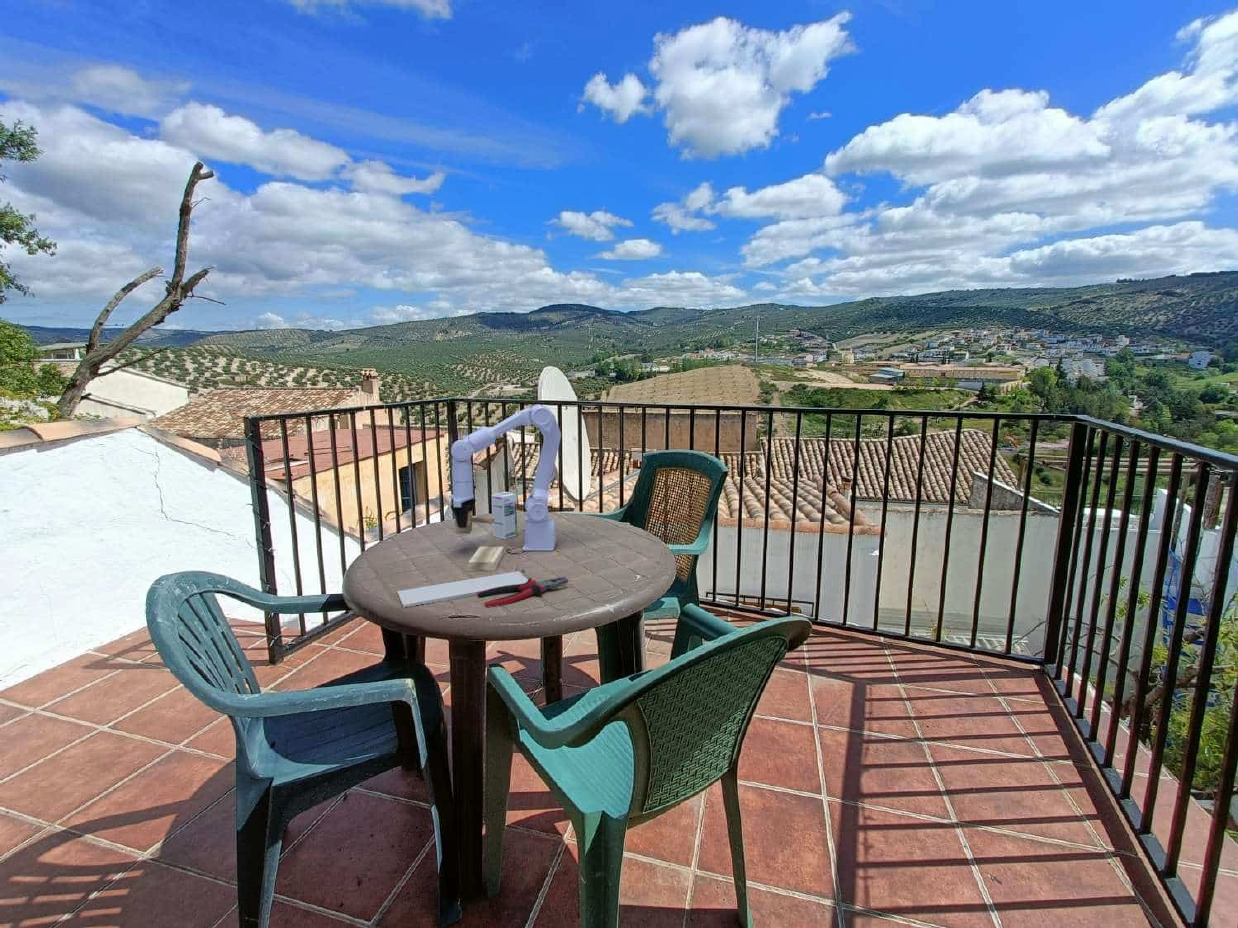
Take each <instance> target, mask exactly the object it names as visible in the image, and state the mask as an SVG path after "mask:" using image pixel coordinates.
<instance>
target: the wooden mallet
mask: <svg viewBox="0 0 1238 928" xmlns="http://www.w3.org/2000/svg"><path fill="white" fill-rule="evenodd" d="M454 523H455V524H454V526H455V528H454V529H455V531H454V532H455V534H457V535H458V534H459V535H469V534H471V532H472V531H473V523H474V524H475V523H476V524H477V523H478V524H479V523H480V524H490V525H492V524H493V523H494V518H493V517H473V510H472V511H469V512H468V518H467V526H466V528H459V527H458V524H457V520H456V517H455V516H454Z"/></svg>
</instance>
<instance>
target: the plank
mask: <svg viewBox="0 0 1238 928" xmlns="http://www.w3.org/2000/svg"><path fill="white" fill-rule="evenodd" d="M504 552H505V550H504V546H479V547H478V549H476V551H475V553H474V554H473V555H472V557H471V558H470V559H469V561H468V572H494V571H496V569H497V567H498V566H499V564H500V562H501V561H502V558H503V557H504Z"/></svg>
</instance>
